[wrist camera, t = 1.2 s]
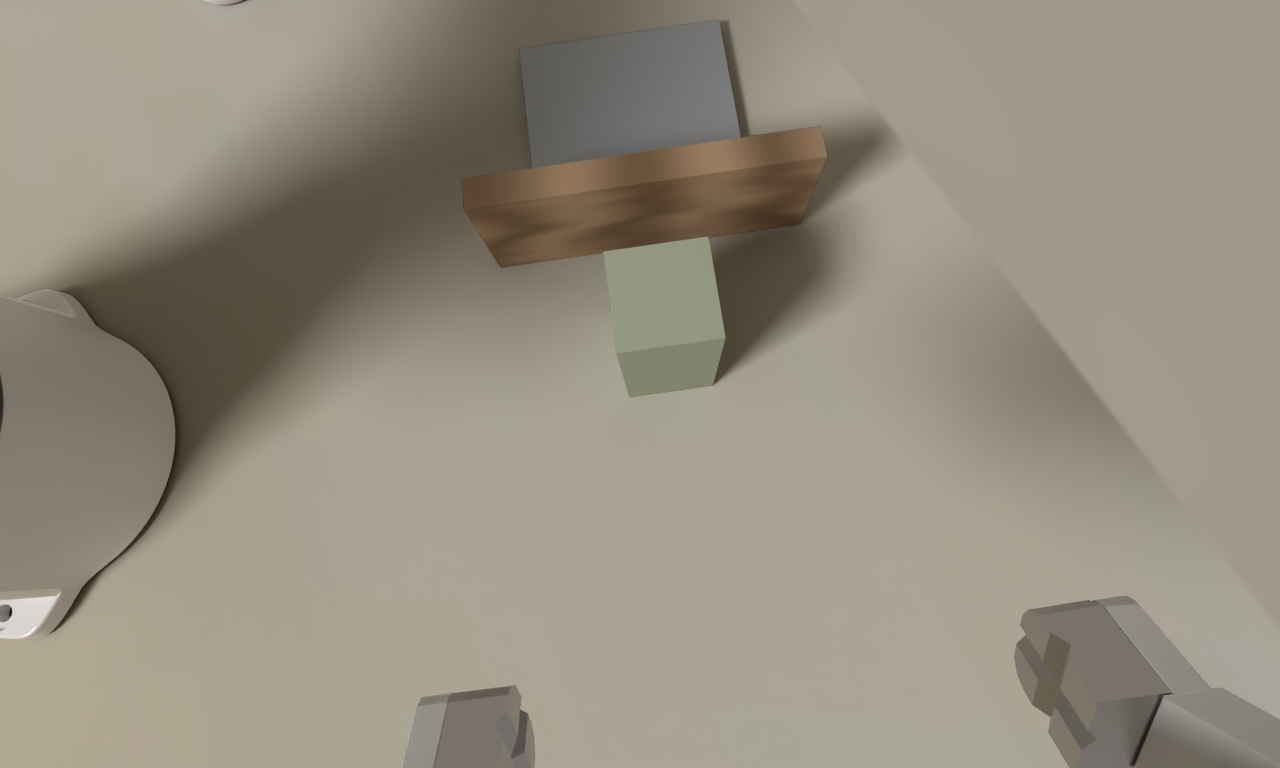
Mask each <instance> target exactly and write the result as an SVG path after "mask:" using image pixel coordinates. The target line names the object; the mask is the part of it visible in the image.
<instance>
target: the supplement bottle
mask: <svg viewBox="0 0 1280 768" xmlns="http://www.w3.org/2000/svg"><path fill="white" fill-rule="evenodd" d="M203 1H205V2H208V3H211V4H215V5H230V4H235V3H238V2H241V1H243V0H203Z"/></svg>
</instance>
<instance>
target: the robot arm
mask: <svg viewBox="0 0 1280 768" xmlns="http://www.w3.org/2000/svg"><path fill="white" fill-rule="evenodd" d="M174 449H175V421H174V414H173V409H172V405H171V401H170V398H169V395H168V392H167V390H166V387H165V385H164V383H163V381H162V379H161V377H160V376H159V374H158V373H157V371H156V370H155V368H154V367H153V366H152V364H151V363H150V362H149V361H148V360H147V359H146V358H145V357H144V356H143V355H142V354H141V353H140V352H139V351H138V350H136V349H135V348H133V347H132V346H131V345H129V344H127V343H126V342H124V341H122V340H120V339H118V338H116V337H114V336H112V335H110V334H108V333H107V332H105V331H103V330H102V329H100V328H99V327H97V326H96V325H95V324H94V322H93V321H92V319H91V318H90V316H89V315H88V314H87V312H86V311H85V309H84V308H83V307H82V305H81V304H80V303H79V302H78V301H77V300H76V299H75V298H74V297H73V296H71V295H69V294H67V293H63V292H60V291H56V290H52V289H43V290H38V291H35V292H32V293H29V294H26V295H23V296H20V297H17V298H12V297H9V296H5V295H2V294H0V638H6V639H36V638H41V637H44V636H46V635H47V634H49V633H50V632H51V631H53V630H54V629H55V628H56V626H57V625H58V624H59V623H60V622H61V620H62V619H63V617H64V616H65V614H66V613H67V611H68V610H69V608H70V607H71V605H72V603H73V602H74V600H75V599H76V597H77V595H78V593H79V592H80V590H81V588H82V587H83V586H84V584H85V583H86V582H87V581H88V580H89V579H90V578H91V577H92V576H94V575H95V574H96V573H97V572H98V571H99V570H101V569H102V568H103V567H104V566H106V565H107V564H108V563H109V562H111V561H112V560H113V559H114V558H115V557H117V556H118V555H119V554H120V553H121V552H122V551H123V550H124V549H125V548H126V547H127V546H128V545H129V544H130V543H131V542H132V541H133V540H134V538H135V537H136V536H137V535H138V534H139V532H140V531H141V530H142V528H143V527H144V526H145V524H146V523H147V521H148V520H149V518H150V517H151V515H152V514H153V512H154V510H155V508H156V506H157V505H158V503H159V500H160V498H161V496H162V494H163V492H164V489H165V487H166V484H167V481H168V478H169V474H170V471H171V467H172V462H173V457H174ZM11 608H12V615H11V617H10V616H9V611H10V609H11ZM1020 626H1021V627H1022V629H1023V630H1024V632H1025V634H1026V635H1025V636H1024V637H1023V638H1022V639H1021V640H1020V641H1019V642H1018V643H1017V644H1016V649H1015V656H1014V659H1015V665H1016V670H1017V675H1018V677H1019V680H1020V682H1021V685H1022V687H1023V690H1024V691H1025V693H1026V695H1027V697H1028V698H1029V700H1030V702H1031V704H1032V705H1033V706H1035V707H1036V708H1038V709H1039V710H1041V711H1042V712H1044V713H1045V714H1047V715H1048V716H1050V723H1049V731H1048V733H1049V734H1050V736H1051V738H1052V739H1053V741H1054V743H1055V744H1056V746H1057V748H1058V749H1059V751H1060V753H1061V754H1062V756H1063V758H1064V759H1065V761H1066V763H1067V764H1068V766H1069V768H1280V720H1279V719H1278V718H1276V717H1274V716H1272V715H1270V714H1269V713H1267V712H1265V711H1263V710H1261V709H1260V708H1258V707H1256V706H1254V705H1252V704H1250V703H1249V702H1247V701H1245V700H1243V699H1241V698H1240V697H1238V696H1236V695H1234V694H1232V693H1230V692H1229V691H1227V690H1225V689H1223V688H1212V689H1211V688H1210V687H1209V686H1208V684H1207V683H1206V682H1205V681H1204V680H1203V679H1202V677H1201V676H1200V675H1199V674H1198V673H1197V672H1196V670H1195V669H1194V668H1193V667H1192V666H1191V665H1190V664H1189V662H1188V661H1187V660H1186V659H1185V658H1184V657H1183V655H1182V654H1181V653H1180V652H1179V651H1178V650H1177V648H1176V647H1175V646H1174V645H1173V644H1172V643H1171V641H1170V640H1169V639H1168V638H1167V637H1166V636H1165V634H1164V633H1163V632H1162V631H1161V630H1160V629H1159V627H1158V626H1157V625H1156V624H1155V623H1154V622H1153V620H1152V619H1151V618H1150V617H1149V616H1148V615H1147V613H1146V612H1145V611H1144V610H1143V609H1142V608H1141V607H1140V605H1139V604H1138V603H1137V602H1136V601H1135V600H1133V599H1132V598H1130V597H1128V596H1117V597H1111V598H1105V599H1099V600H1093V601H1090V600H1086V601H1080V602H1073V603H1067V604H1061V605H1055V606H1049V607H1043V608H1036V609H1030V610H1027V611H1026V612H1025V613H1024V614H1023V616H1022V620H1021V624H1020ZM520 706H521V696H520V693H519V691H518V689H517V687H516V685H513V686H505V687H497V688H489V689H482V690H474V691H466V692H458V693H449V694H442V695H435V696H428V697H422V698H421V700H420V702H419V703H418V705H417V707H416V709H415V713H414V717H413V721H412V725H411V729H410V733H409V737H408V741H407V746H406V750H405V754H404V758H403V762H402V766H401V768H534V766H535V744H534V733H533V728H532V723H531V721H530V718H529V715H528V714H527V713H526V712H524V711H522V710H520Z"/></svg>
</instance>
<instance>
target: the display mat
mask: <svg viewBox="0 0 1280 768" xmlns="http://www.w3.org/2000/svg"><path fill="white" fill-rule="evenodd" d="M519 53H520V63H521V72H522V81H523V90H524V99H525V108H526V117H527V127H528V136H529V145H530V154H531V163H532V168H537V167H544V166H550V165H557V164H564V163H571V162H578V161H585V160H591V159H598V158H605V157H612V156H619V155H626V154H632V153H639V152H646V151H653V150H660V149H667V148H673V147H680V146H687V145H694V144H701V143H708V142H714V141H721V140H728V139H735V138H741V135H740V129H739V124H738V119H737V113H736V108H735V103H734V97H733V92H732V87H731V81H730V76H729V71H728V65H727V60H726V55H725V49H724V44H723V39H722V33H721V28H720V23H719V19H718V20H712V21H705V22H698V23H691V24H685V25H678V26H671V27H665V28H658V29H651V30H644V31H638V32H631V33H624V34H618V35H611V36H604V37H597V38H591V39H584V40H577V41H571V42H564V43H557V44H550V45H544V46H537V47H530V48H524V49H519Z"/></svg>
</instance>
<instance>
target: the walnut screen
mask: <svg viewBox="0 0 1280 768" xmlns="http://www.w3.org/2000/svg"><path fill="white" fill-rule="evenodd" d="M826 159H827V153H826V148H825V143H824V139H823V134H822V130H821V126H817V127H810V128H803V129H796V130H790V131H783V132H776V133H769V134H762V135H755V136H749V137H742V138H735V139H728V140H721V141H714V142H708V143H701V144H694V145H687V146H680V147H673V148H667V149H660V150H653V151H646V152H639V153H632V154H626V155H619V156H612V157H605V158H598V159H591V160H585V161H578V162H571V163H564V164H557V165H550V166H544V167H537V168H530V169H523V170H516V171H510V172H503V173H496V174H489V175H482V176H475V177H469V178H462V179H461V181H462V193H463V205H464V211H465V212H466V214H467V215H468V217H469V218H470V220H471V222H472V223H473V225H474V226H475V228H476V230H477V231H478V233H479V234H480V236H481V237H482V239H483V241H484V242H485V244H486V245H487V247H488V249H489V250H490V252H491V253H492V255H493V256H494V258H495V260H496V261H497V263H498V264H499V266H500V267H507V266H514V265H521V264H528V263H535V262H542V261H549V260H556V259H563V258H570V257H576V256H583V255H590V254H597V253H603V252H604V251H611V250H618V249H625V248H632V247H639V246H646V245H653V244H660V243H667V242H674V241H680V240H687V239H694V238H701V237H715V236H722V235H729V234H736V233H743V232H750V231H757V230H764V229H770V228H777V227H784V226H791V225H798V224H800V223H801V220H802V218H803V215H804V213H805V210H806V208H807V206H808V203H809V201H810V198H811V196H812V193H813V191H814V188H815V186H816V183H817V181H818V178H819V176H820V173H821V171H822V169H823V166H824V164H825V161H826Z"/></svg>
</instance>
